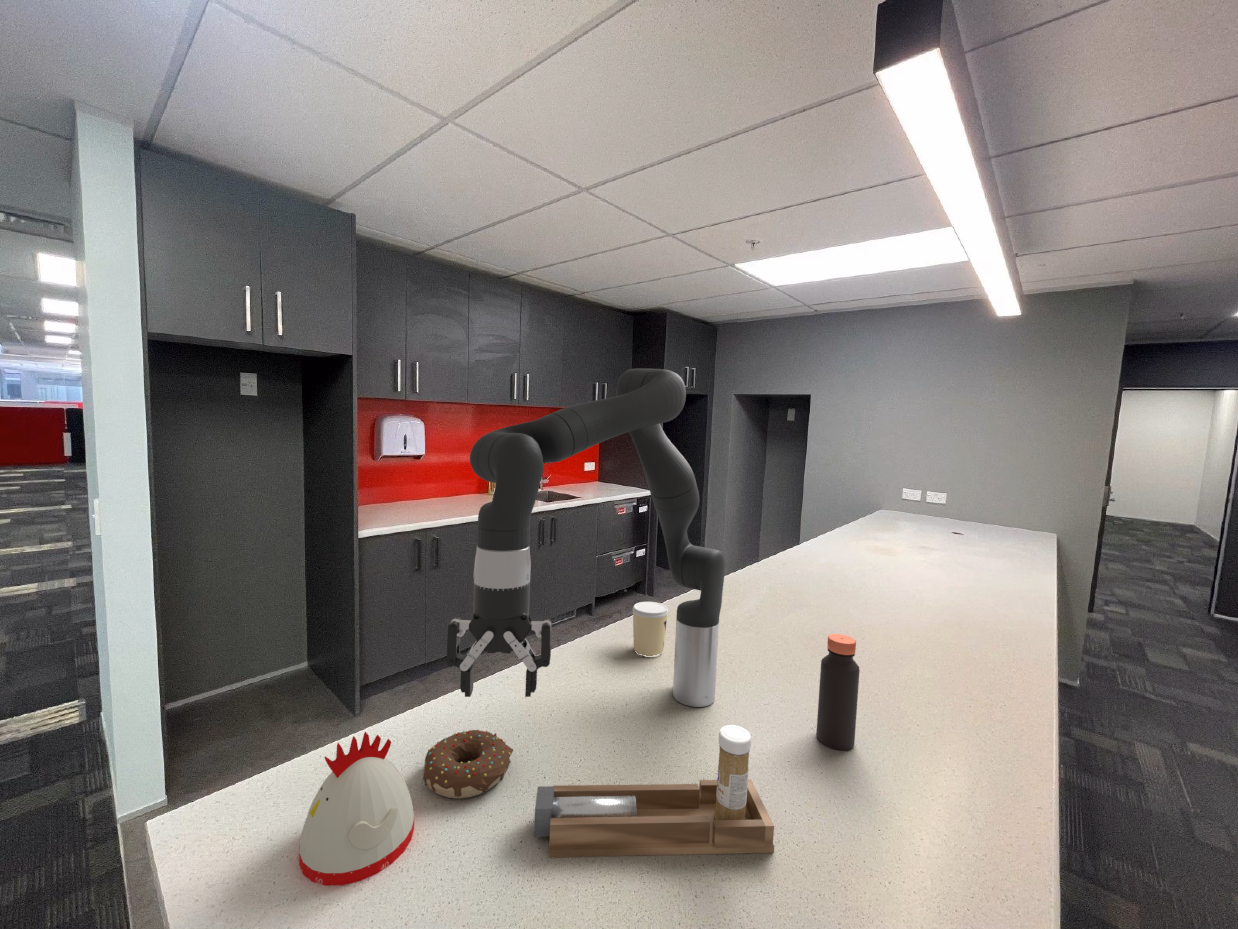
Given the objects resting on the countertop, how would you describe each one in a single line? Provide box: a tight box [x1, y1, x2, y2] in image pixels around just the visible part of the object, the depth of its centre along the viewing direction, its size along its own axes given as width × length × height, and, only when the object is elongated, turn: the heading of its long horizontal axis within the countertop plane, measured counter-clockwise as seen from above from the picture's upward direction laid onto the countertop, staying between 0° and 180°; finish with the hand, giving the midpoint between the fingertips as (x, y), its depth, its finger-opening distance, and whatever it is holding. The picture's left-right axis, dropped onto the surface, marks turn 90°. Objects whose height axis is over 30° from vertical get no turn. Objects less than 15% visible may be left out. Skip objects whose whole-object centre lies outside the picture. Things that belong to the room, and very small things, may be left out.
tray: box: [548, 778, 775, 858], centre depth 73 cm, size 9×31×4 cm, turn 94°
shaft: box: [533, 785, 637, 837], centre depth 72 cm, size 4×14×4 cm, turn 94°
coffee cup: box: [632, 601, 669, 656], centre depth 133 cm, size 9×9×12 cm
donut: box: [422, 729, 514, 799], centre depth 83 cm, size 14×14×5 cm
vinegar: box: [816, 633, 860, 751], centre depth 96 cm, size 7×7×20 cm
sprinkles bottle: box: [715, 724, 752, 820], centre depth 74 cm, size 5×5×13 cm
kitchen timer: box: [298, 731, 415, 886], centre depth 69 cm, size 14×14×15 cm
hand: (498, 694), depth 70 cm, fingers open, 7 cm apart
